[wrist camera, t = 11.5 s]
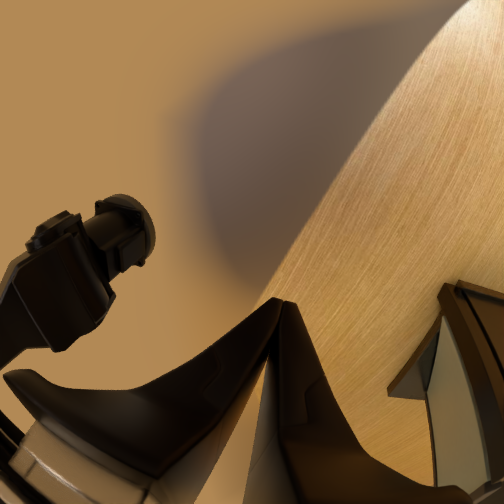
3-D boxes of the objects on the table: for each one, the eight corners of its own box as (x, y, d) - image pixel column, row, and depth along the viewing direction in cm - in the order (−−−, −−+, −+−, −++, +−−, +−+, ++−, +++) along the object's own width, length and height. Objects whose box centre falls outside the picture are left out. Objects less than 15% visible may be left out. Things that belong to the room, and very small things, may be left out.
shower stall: (377, 387, 26) (372, 541, 11) (447, 275, 19) (523, 481, 4) (463, 395, 25) (480, 517, 9) (532, 303, 17) (597, 437, 2)
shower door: (424, 396, 24) (433, 524, 10) (440, 316, 19) (484, 494, 6) (433, 394, 23) (445, 521, 10) (452, 313, 19) (502, 486, 5)
